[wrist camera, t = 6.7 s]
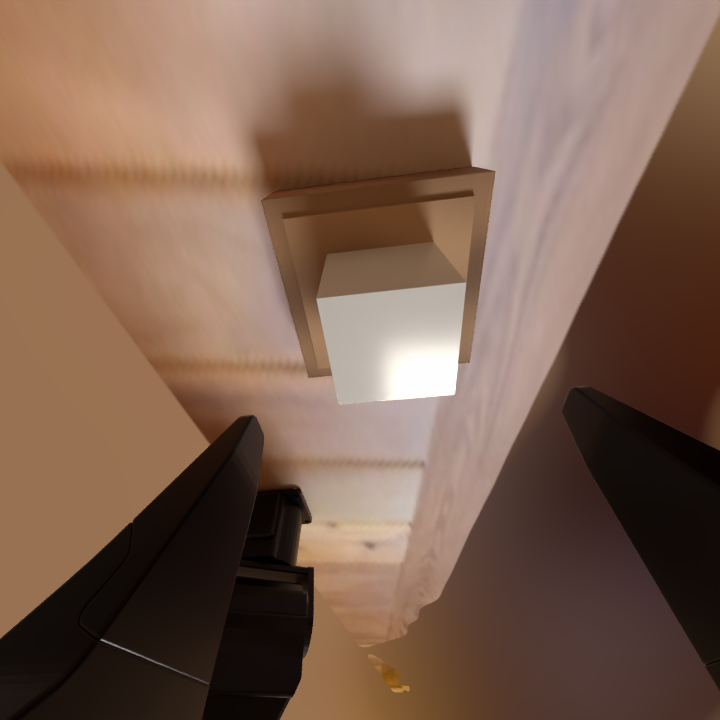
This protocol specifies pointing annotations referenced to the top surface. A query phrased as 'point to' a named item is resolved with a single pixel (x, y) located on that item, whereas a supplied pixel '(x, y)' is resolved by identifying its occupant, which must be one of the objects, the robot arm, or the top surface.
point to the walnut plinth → (377, 237)
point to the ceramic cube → (392, 322)
